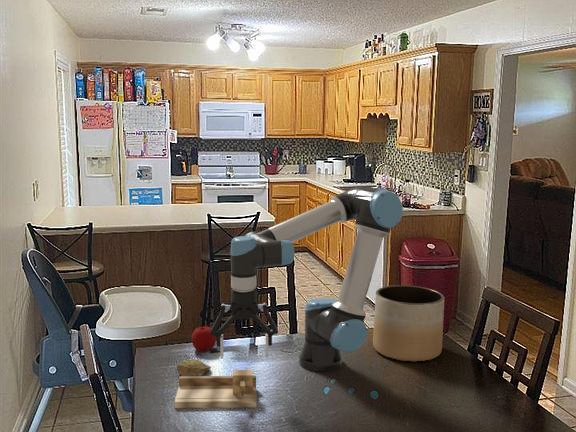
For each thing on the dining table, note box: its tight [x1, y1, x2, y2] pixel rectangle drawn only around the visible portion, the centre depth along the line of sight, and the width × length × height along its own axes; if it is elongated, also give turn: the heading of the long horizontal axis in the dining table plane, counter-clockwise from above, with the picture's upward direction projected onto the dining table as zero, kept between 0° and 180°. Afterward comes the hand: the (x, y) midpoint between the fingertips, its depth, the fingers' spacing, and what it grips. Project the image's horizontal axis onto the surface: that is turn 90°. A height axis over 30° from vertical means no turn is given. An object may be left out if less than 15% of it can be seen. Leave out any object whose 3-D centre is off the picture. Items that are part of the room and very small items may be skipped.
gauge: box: [232, 369, 254, 396], centre depth 175 cm, size 6×8×6 cm
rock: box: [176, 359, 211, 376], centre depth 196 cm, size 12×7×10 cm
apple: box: [191, 324, 217, 353], centre depth 214 cm, size 9×9×10 cm
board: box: [174, 375, 257, 409], centre depth 176 cm, size 24×12×4 cm, turn 94°
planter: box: [372, 284, 445, 363], centre depth 216 cm, size 25×25×22 cm
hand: (244, 356), depth 176 cm, fingers open, 13 cm apart
